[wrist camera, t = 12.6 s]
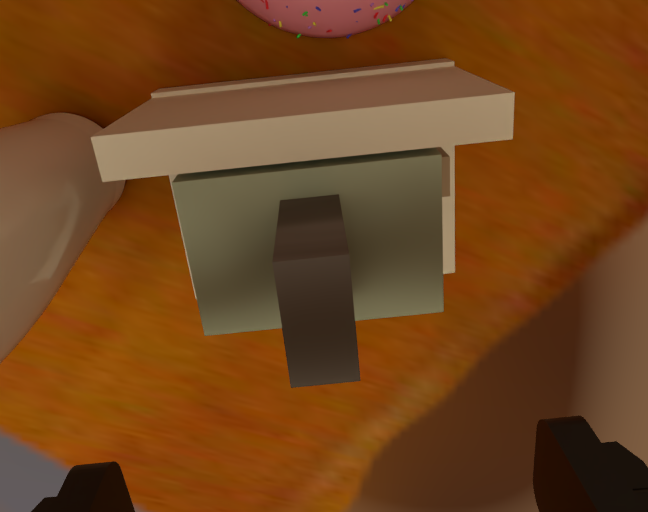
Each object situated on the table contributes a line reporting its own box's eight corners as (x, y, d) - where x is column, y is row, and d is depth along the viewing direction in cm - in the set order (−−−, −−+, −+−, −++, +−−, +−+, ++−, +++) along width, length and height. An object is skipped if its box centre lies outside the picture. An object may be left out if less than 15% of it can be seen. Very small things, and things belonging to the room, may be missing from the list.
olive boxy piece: (208, 131, 26) (128, 240, 14) (403, 111, 26) (485, 204, 14) (230, 250, 29) (177, 426, 17) (408, 232, 29) (481, 396, 17)
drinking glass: (140, 100, 27) (-29, 202, 13) (147, 232, 30) (12, 429, 16) (-7, 88, 27) (-337, 182, 13) (14, 224, 29) (-241, 419, 16)
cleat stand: (158, 88, 27) (88, 130, 18) (446, 58, 27) (514, 85, 18) (200, 285, 31) (159, 395, 22) (448, 260, 31) (503, 361, 22)
